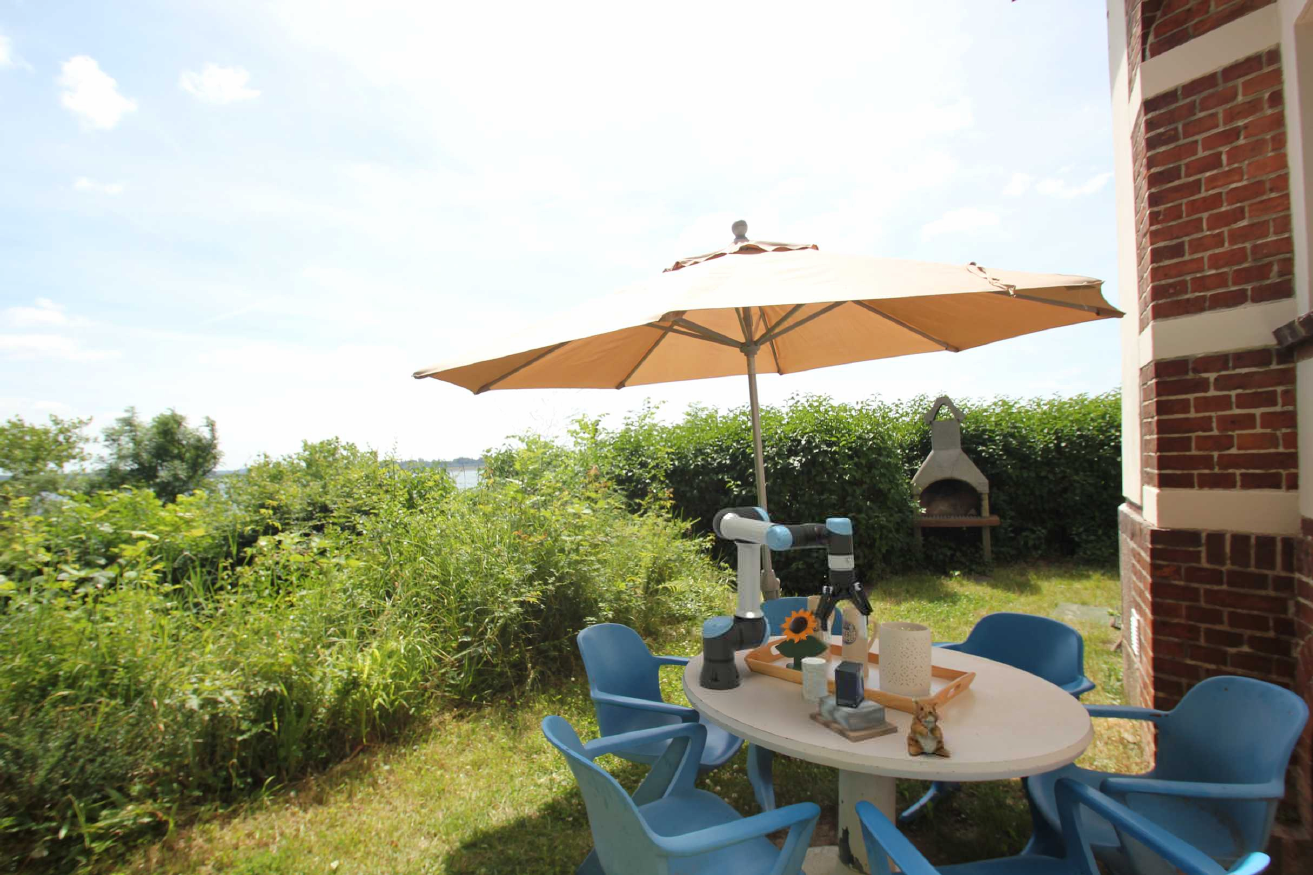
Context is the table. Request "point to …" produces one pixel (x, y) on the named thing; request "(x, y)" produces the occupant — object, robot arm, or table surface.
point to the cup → (814, 678)
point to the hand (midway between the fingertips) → (845, 639)
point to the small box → (849, 684)
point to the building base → (854, 734)
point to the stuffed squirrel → (925, 730)
